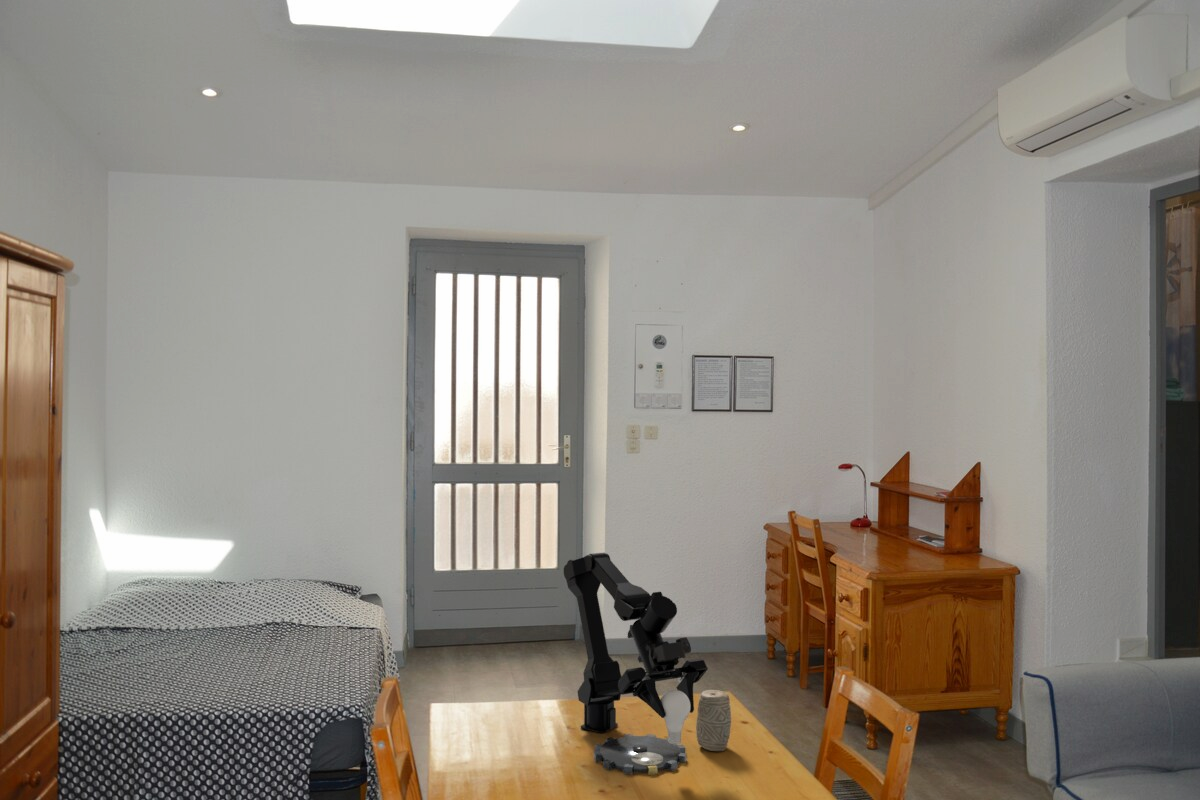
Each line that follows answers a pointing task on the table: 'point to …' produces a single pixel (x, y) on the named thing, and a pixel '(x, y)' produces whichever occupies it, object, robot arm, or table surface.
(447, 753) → the table surface
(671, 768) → the sprocket plate
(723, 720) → the carving
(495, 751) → the table surface
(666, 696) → the lightbulb
